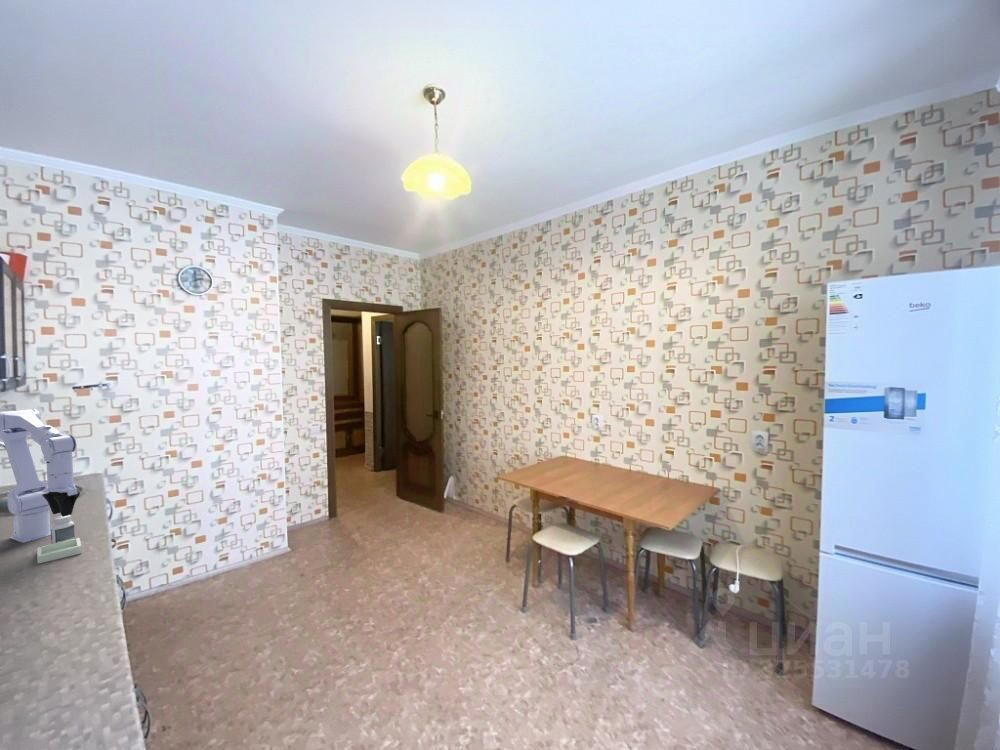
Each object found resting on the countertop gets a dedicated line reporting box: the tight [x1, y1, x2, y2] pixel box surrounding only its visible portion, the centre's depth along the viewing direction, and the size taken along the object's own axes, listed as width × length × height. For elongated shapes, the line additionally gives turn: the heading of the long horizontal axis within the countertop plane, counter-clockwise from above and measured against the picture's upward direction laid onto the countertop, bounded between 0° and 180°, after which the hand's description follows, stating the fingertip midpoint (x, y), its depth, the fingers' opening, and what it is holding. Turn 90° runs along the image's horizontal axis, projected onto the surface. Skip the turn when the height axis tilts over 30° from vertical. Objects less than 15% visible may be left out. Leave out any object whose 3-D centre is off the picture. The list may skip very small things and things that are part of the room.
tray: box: [36, 537, 83, 564], centre depth 124 cm, size 9×9×2 cm
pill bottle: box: [50, 514, 76, 544], centre depth 132 cm, size 5×5×9 cm
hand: (62, 514), depth 131 cm, fingers open, 5 cm apart
